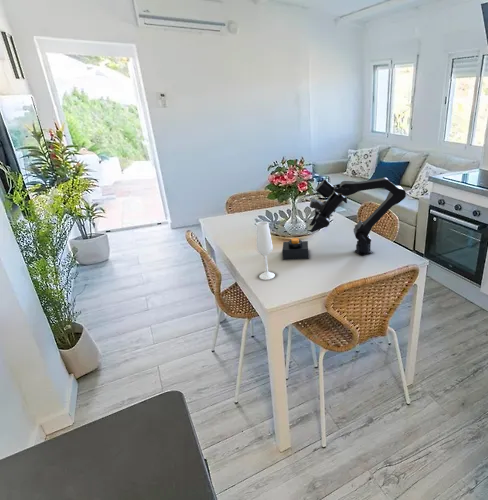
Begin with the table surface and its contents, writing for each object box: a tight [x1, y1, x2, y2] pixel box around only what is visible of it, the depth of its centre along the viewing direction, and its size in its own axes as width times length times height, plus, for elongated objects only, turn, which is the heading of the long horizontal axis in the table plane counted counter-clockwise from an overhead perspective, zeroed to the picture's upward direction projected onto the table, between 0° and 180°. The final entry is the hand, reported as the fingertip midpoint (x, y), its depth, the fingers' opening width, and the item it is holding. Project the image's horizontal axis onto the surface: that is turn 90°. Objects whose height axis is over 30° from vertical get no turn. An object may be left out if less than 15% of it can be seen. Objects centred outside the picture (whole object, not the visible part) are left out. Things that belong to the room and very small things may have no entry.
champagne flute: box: [255, 220, 276, 280], centre depth 145 cm, size 7×7×24 cm
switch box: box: [281, 239, 310, 261], centre depth 169 cm, size 12×10×7 cm
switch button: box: [290, 237, 300, 244], centre depth 167 cm, size 4×4×2 cm
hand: (311, 228), depth 166 cm, fingers open, 9 cm apart
